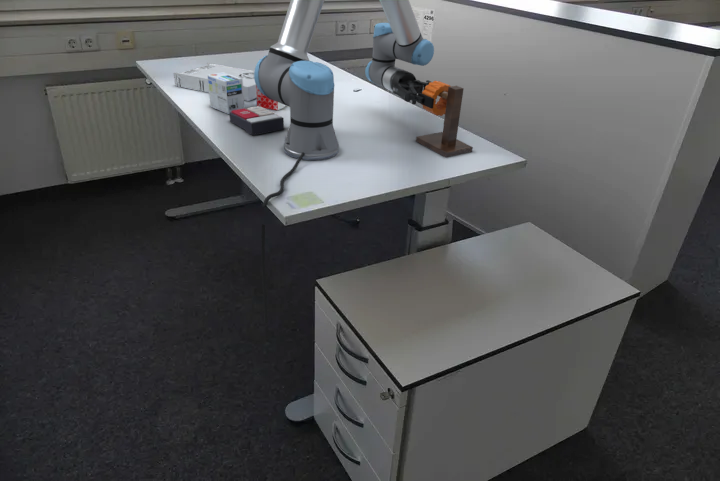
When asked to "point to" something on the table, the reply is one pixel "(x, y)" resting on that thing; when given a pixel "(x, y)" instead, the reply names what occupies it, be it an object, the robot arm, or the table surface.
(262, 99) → the red and white cube
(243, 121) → the red and black box
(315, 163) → the table surface
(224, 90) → the light bulb box
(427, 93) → the tape roll
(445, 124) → the stand
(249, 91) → the white cardboard box
